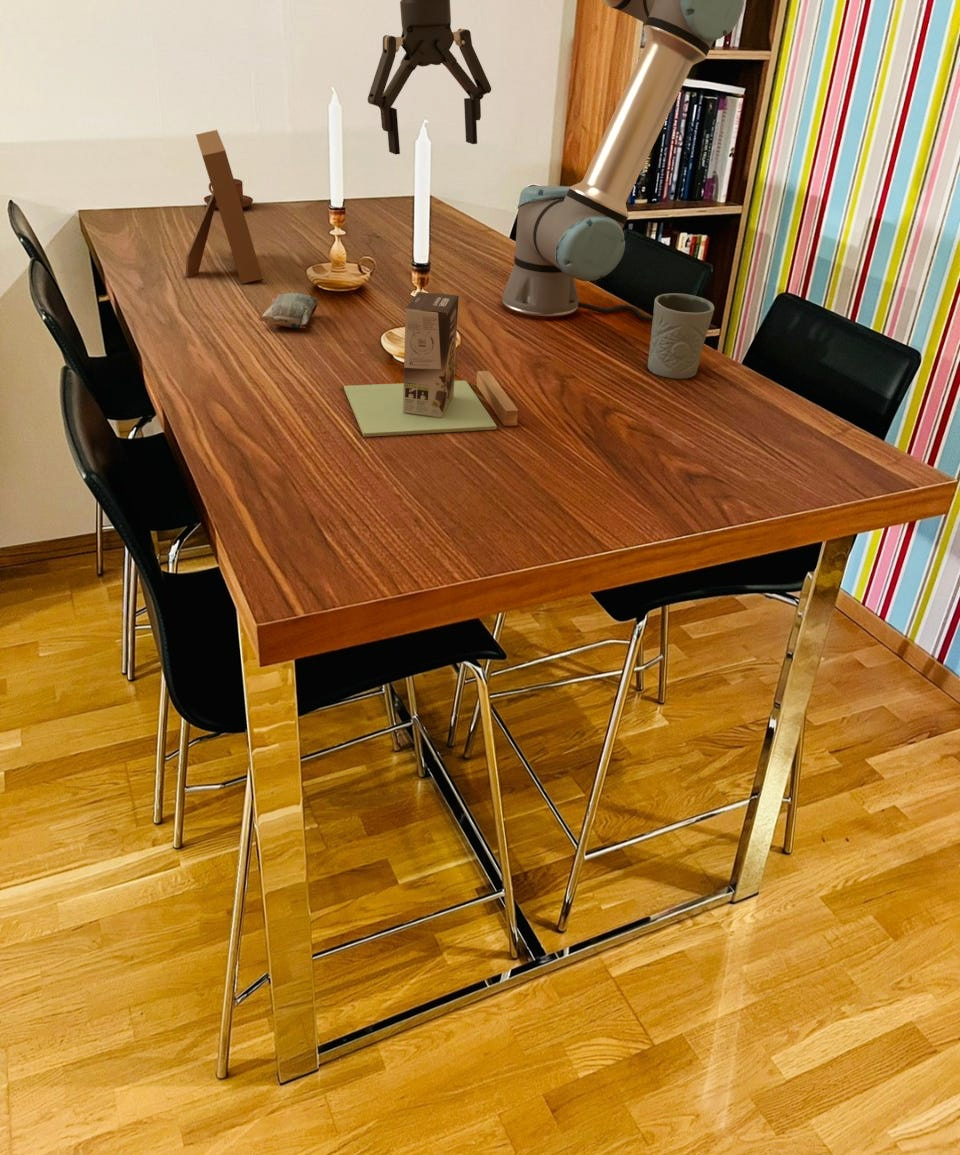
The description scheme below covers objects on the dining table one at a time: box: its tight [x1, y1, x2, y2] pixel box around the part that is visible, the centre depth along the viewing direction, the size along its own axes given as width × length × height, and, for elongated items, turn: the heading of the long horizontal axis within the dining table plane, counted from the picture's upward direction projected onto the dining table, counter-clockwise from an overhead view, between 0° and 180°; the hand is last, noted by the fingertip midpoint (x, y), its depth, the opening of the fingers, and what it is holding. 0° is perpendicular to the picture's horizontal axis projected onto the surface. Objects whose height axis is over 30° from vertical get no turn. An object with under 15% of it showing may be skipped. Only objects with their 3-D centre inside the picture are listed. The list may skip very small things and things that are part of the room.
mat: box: [343, 380, 498, 438], centre depth 154 cm, size 20×18×1 cm
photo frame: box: [185, 129, 264, 285], centre depth 202 cm, size 15×22×25 cm
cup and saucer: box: [203, 178, 254, 209], centre depth 252 cm, size 12×12×6 cm
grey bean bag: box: [258, 292, 319, 329], centre depth 182 cm, size 9×12×5 cm
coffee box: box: [403, 291, 460, 418], centre depth 150 cm, size 9×6×16 cm
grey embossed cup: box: [647, 292, 715, 380], centre depth 172 cm, size 10×10×12 cm
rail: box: [475, 370, 519, 427], centre depth 157 cm, size 2×16×2 cm, turn 15°
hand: (433, 148), depth 162 cm, fingers open, 13 cm apart
